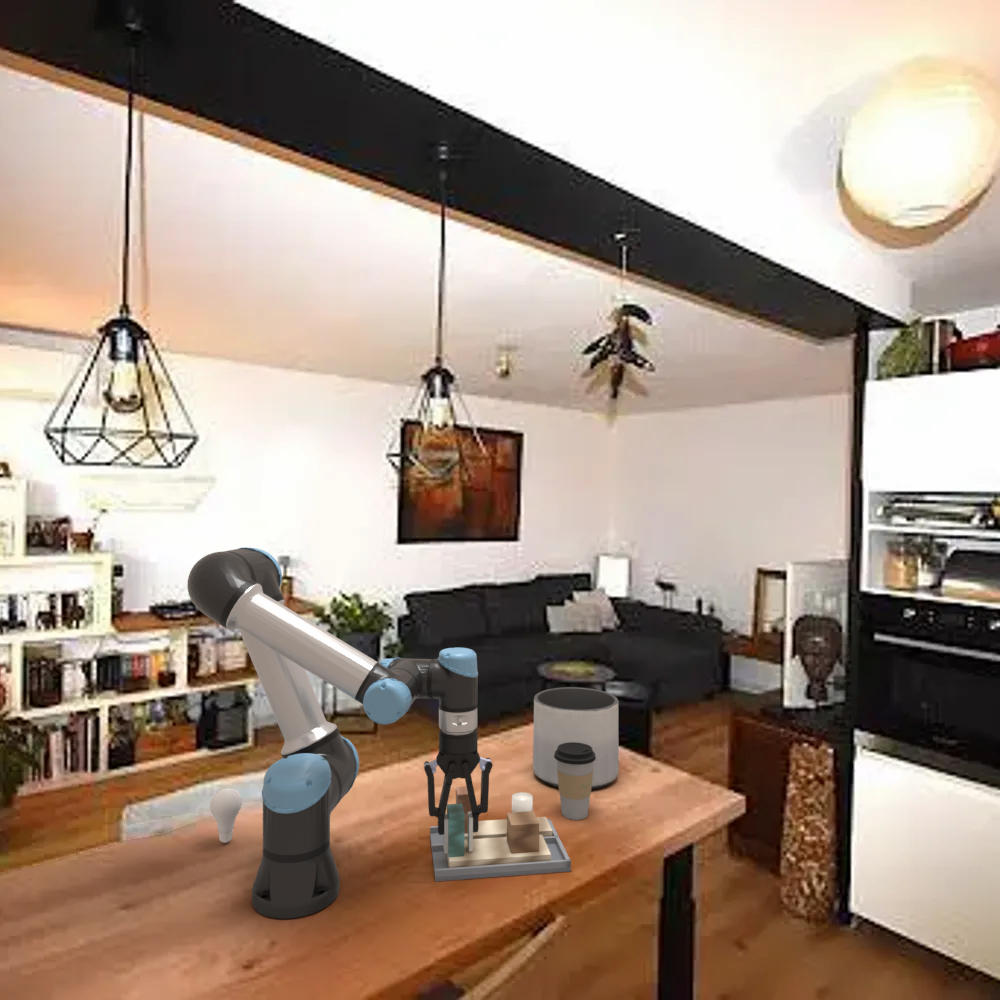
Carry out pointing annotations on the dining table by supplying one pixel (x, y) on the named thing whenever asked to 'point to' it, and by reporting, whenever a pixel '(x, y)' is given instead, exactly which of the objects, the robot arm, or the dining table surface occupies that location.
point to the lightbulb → (225, 811)
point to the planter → (576, 730)
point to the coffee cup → (574, 778)
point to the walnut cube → (522, 832)
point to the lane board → (444, 873)
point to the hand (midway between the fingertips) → (458, 848)
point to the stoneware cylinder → (522, 802)
